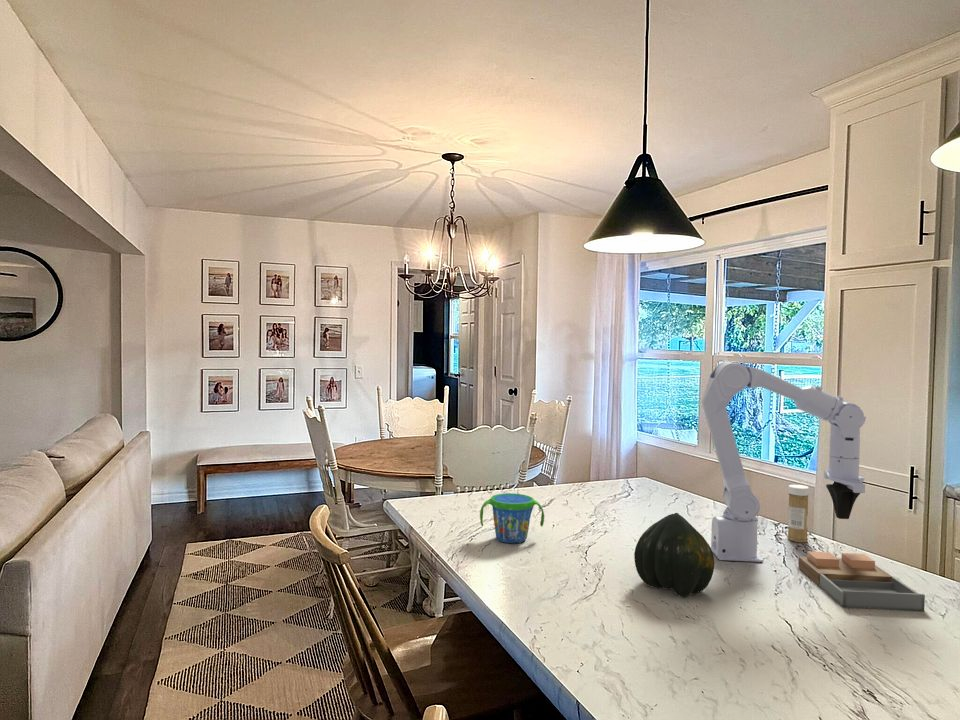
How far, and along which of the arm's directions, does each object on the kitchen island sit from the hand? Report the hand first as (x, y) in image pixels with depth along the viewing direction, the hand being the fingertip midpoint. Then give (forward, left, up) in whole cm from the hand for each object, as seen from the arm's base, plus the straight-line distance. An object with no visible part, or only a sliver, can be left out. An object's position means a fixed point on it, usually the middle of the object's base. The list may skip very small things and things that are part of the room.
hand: (842, 518), depth 139 cm
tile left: (-7, -7, -8) cm, 13 cm away
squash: (-40, -19, -10) cm, 45 cm away
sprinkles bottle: (-3, +16, -10) cm, 19 cm away
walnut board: (-4, -9, -10) cm, 14 cm away
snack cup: (-73, +7, -10) cm, 74 cm away
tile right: (0, -7, -8) cm, 11 cm away
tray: (-4, -19, -10) cm, 22 cm away
